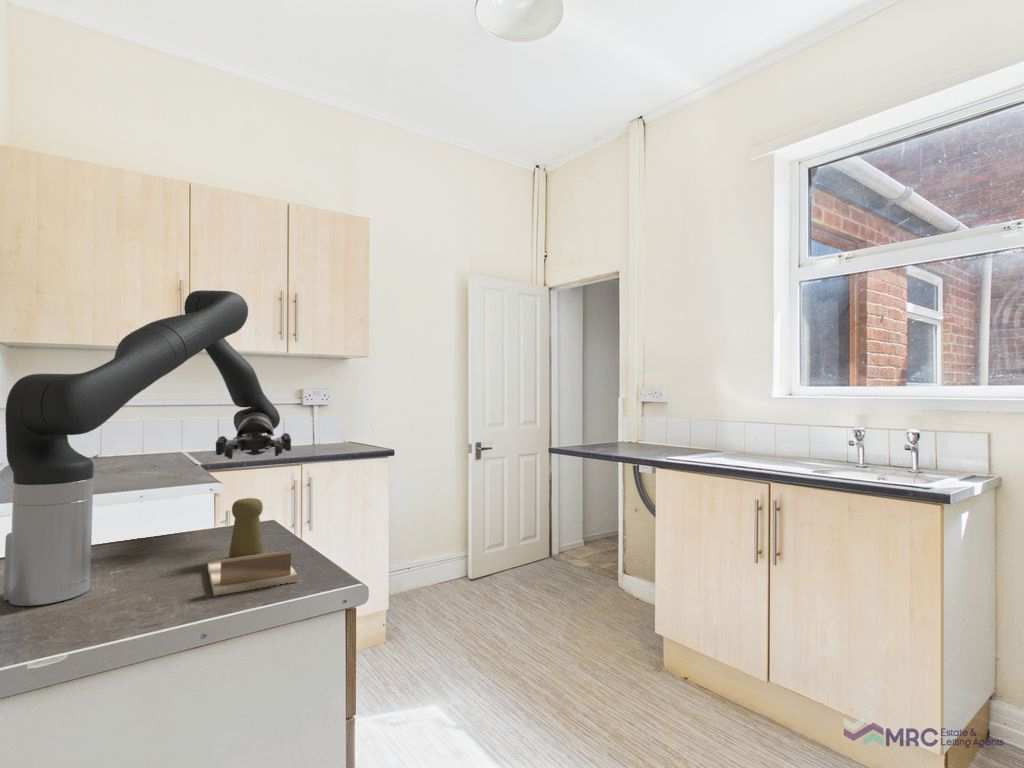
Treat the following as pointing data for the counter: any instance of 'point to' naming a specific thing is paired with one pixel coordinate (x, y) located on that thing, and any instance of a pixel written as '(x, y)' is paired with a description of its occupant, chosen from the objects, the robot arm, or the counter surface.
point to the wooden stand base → (251, 572)
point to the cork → (246, 528)
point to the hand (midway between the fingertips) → (253, 452)
